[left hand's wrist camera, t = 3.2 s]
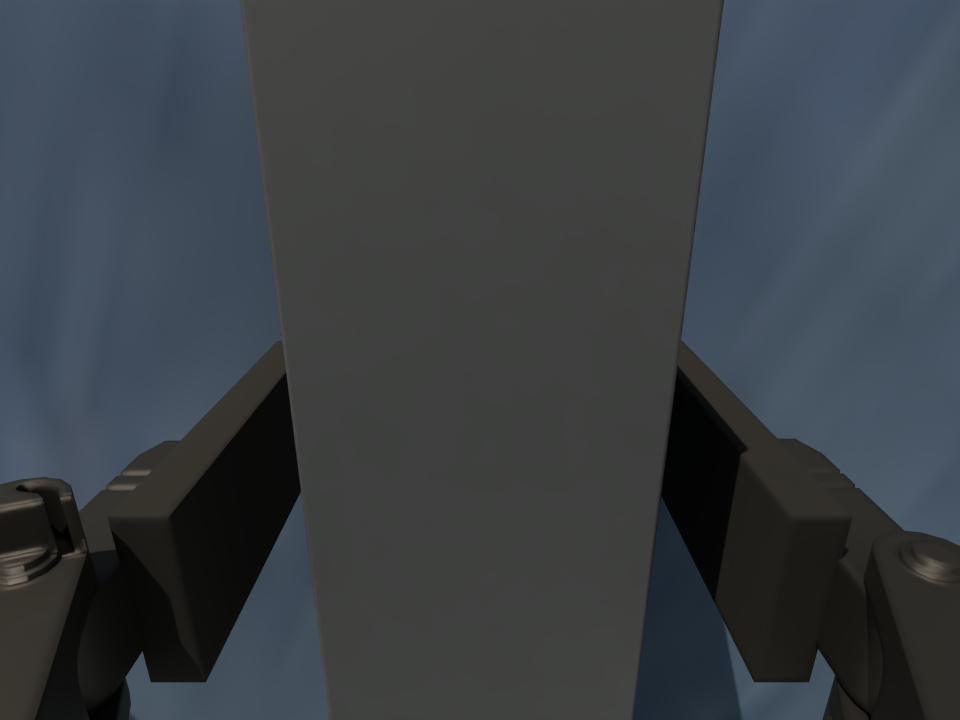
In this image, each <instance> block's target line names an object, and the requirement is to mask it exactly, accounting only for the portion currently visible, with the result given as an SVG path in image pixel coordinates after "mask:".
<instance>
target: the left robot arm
mask: <svg viewBox="0 0 960 720" xmlns="http://www.w3.org/2000/svg"><path fill="white" fill-rule="evenodd" d="M300 492H301V486H300V478H299V470H298V462H297V454H296V446H295V438H294V430H293V422H292V414H291V406H290V398H289V390H288V382H287V374H286V366H285V358H284V350H283V342H282V341H277V342H276V343H275V344H274V345H273V346H272V347H271V348H270V349H269V350H268V351H267V352H266V353H265V354H264V355H263V356H262V358H261V359H260V360H259V361H258V362H257V363H256V364H255V365H254V366H253V367H252V368H251V369H250V370H249V371H248V372H247V373H246V374H245V375H244V376H243V377H242V378H241V379H240V380H239V381H238V382H237V383H236V384H235V385H234V386H233V387H232V388H231V389H230V390H229V392H228V393H227V394H226V395H225V396H224V397H223V398H222V399H221V400H220V401H219V402H218V403H217V404H216V405H215V406H214V407H213V408H212V409H211V410H210V411H209V412H208V413H207V414H206V415H205V416H204V417H203V418H202V419H201V420H200V421H199V422H198V423H197V424H196V426H195V427H194V428H193V429H192V430H191V431H190V432H189V433H188V434H187V435H186V436H185V437H184V438H183V439H182V440H181V441H164V442H163V443H161V444H159V445H157V446H155V447H153V448H151V449H150V450H148V451H146V452H144V453H142V454H140V455H139V456H138V457H137V458H135V459H134V460H133V461H132V462H131V463H130V464H129V465H128V466H127V467H126V468H125V469H124V470H123V471H122V472H121V475H120V476H116V477H115V478H114V479H113V480H112V481H111V482H110V483H109V484H108V485H107V486H106V489H105V490H102V491H101V492H100V493H98V494H97V495H96V496H95V497H94V498H93V499H92V500H91V501H90V502H89V503H88V504H87V505H86V506H85V507H84V508H83V509H82V510H80V511H79V512H78V509H77V505H76V502H75V498H74V495H73V491H72V488H71V485H69V484H67V483H66V482H64V481H63V480H61V479H53V478H46V477H42V478H32V479H21V480H17V481H13V482H9V483H5V484H1V485H0V720H128V719H129V712H130V706H131V701H130V693H129V688H128V685H127V681H126V678H125V677H126V675H127V674H128V672H129V671H130V669H131V668H132V666H133V665H134V663H135V662H136V660H137V659H138V657H139V655H140V654H141V652H142V651H143V654H144V658H145V661H146V665H147V669H148V673H149V677H150V680H151V682H206V681H207V679H208V677H209V675H210V673H211V671H212V669H213V667H214V665H215V663H216V661H217V659H218V657H219V655H220V653H221V651H222V649H223V647H224V645H225V643H226V641H227V639H228V637H229V635H230V633H231V631H232V629H233V627H234V624H235V622H236V620H237V618H238V616H239V614H240V612H241V610H242V608H243V606H244V604H245V602H246V600H247V598H248V596H249V594H250V592H251V590H252V588H253V586H254V584H255V582H256V580H257V578H258V576H259V574H260V572H261V570H262V568H263V566H264V564H265V562H266V560H267V558H268V556H269V554H270V552H271V550H272V548H273V546H274V544H275V542H276V540H277V538H278V536H279V534H280V532H281V530H282V528H283V526H284V524H285V522H286V520H287V518H288V516H289V514H290V512H291V510H292V508H293V506H294V504H295V502H296V500H297V498H298V496H299V494H300ZM661 496H662V498H663V500H664V502H665V504H666V506H667V508H668V510H669V512H670V514H671V516H672V518H673V520H674V522H675V524H676V526H677V528H678V530H679V532H680V534H681V536H682V538H683V540H684V542H685V544H686V546H687V548H688V550H689V552H690V554H691V556H692V558H693V560H694V562H695V564H696V566H697V568H698V570H699V572H700V574H701V576H702V578H703V580H704V582H705V584H706V586H707V588H708V590H709V592H710V594H711V596H712V598H713V600H714V602H715V604H716V606H717V608H718V610H719V612H720V614H721V616H722V618H723V620H724V622H725V624H726V626H727V628H728V630H729V632H730V635H731V637H732V639H733V641H734V643H735V645H736V647H737V649H738V651H739V653H740V655H741V657H742V659H743V661H744V663H745V665H746V667H747V669H748V671H749V673H750V675H751V677H752V679H753V681H754V682H809V680H810V677H811V673H812V669H813V665H814V662H815V658H816V654H817V650H818V649H819V651H820V652H821V654H822V655H823V657H824V658H825V660H826V661H827V663H828V664H829V666H830V667H831V669H832V671H833V672H834V674H835V678H834V681H833V685H832V688H831V692H830V695H829V699H828V702H827V706H826V709H825V713H824V716H823V720H960V546H959V545H956V544H954V543H952V542H950V541H948V540H945V539H942V538H938V537H935V536H931V535H928V534H924V533H920V532H911V531H904V530H903V529H902V528H901V527H900V526H899V525H898V524H897V523H896V522H894V521H893V520H892V519H891V518H890V517H889V516H888V515H887V514H886V513H885V512H884V511H883V510H882V509H881V508H880V507H878V506H877V505H876V504H875V503H874V502H873V501H872V500H871V499H870V498H869V497H868V496H867V495H866V494H865V493H864V492H862V491H861V490H860V489H859V488H855V484H854V483H853V482H852V481H851V480H850V479H849V478H848V477H847V476H845V475H844V474H840V470H839V469H838V468H837V467H836V466H835V465H834V464H833V463H832V462H831V461H829V460H828V459H827V458H826V457H825V456H824V455H823V454H822V453H820V452H818V451H817V450H815V449H813V448H811V447H809V446H807V445H805V444H804V443H802V442H800V441H798V440H796V439H777V438H776V437H775V436H774V435H773V434H772V433H771V432H770V431H769V430H768V429H767V428H766V427H765V425H764V424H763V423H762V422H761V421H760V420H759V419H758V418H757V417H756V416H755V415H754V414H753V413H752V412H751V411H750V410H749V409H748V408H747V407H746V406H745V405H744V404H743V403H742V402H741V401H740V400H739V399H738V398H737V397H736V396H735V395H734V394H733V393H732V392H731V390H730V389H729V388H728V387H727V386H726V385H725V384H724V383H723V382H722V381H721V380H720V379H719V378H718V377H717V376H716V375H715V374H714V373H713V372H712V371H711V370H710V369H709V368H708V367H707V366H706V365H705V364H704V363H703V362H702V361H701V360H700V359H699V358H698V356H697V355H696V354H695V353H694V352H693V351H692V350H691V349H690V348H689V347H688V346H687V345H686V344H685V343H684V342H683V341H681V342H680V350H679V358H678V366H677V374H676V382H675V390H674V397H673V405H672V413H671V421H670V429H669V437H668V445H667V453H666V461H665V468H664V476H663V484H662V492H661Z"/></svg>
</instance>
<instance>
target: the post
mask: <svg viewBox="0 0 960 720" xmlns="http://www.w3.org/2000/svg"><path fill="white" fill-rule="evenodd" d="M723 3H724V0H240V6H241V14H242V22H243V30H244V38H245V46H246V54H247V62H248V70H249V78H250V86H251V94H252V102H253V110H254V118H255V126H256V134H257V142H258V150H259V158H260V166H261V174H262V182H263V190H264V198H265V206H266V214H267V222H268V230H269V238H270V246H271V254H272V262H273V270H274V278H275V286H276V294H277V302H278V310H279V318H280V326H281V334H282V342H283V350H284V358H285V366H286V374H287V382H288V390H289V398H290V406H291V414H292V422H293V430H294V438H295V446H296V454H297V462H298V470H299V478H300V486H301V494H302V502H303V510H304V518H305V526H306V534H307V542H308V550H309V558H310V566H311V574H312V582H313V590H314V598H315V606H316V614H317V622H318V630H319V638H320V646H321V654H322V662H323V670H324V678H325V686H326V694H327V702H328V710H329V718H330V720H633V713H634V705H635V697H636V689H637V681H638V674H639V666H640V658H641V650H642V642H643V634H644V626H645V618H646V610H647V603H648V595H649V587H650V579H651V571H652V563H653V555H654V547H655V539H656V532H657V524H658V516H659V508H660V500H661V492H662V484H663V476H664V468H665V461H666V453H667V445H668V437H669V429H670V421H671V413H672V405H673V397H674V390H675V382H676V374H677V366H678V358H679V350H680V342H681V334H682V326H683V319H684V311H685V303H686V295H687V287H688V279H689V271H690V263H691V255H692V248H693V240H694V232H695V224H696V216H697V208H698V200H699V192H700V184H701V177H702V169H703V161H704V153H705V145H706V137H707V129H708V121H709V113H710V106H711V98H712V90H713V82H714V74H715V66H716V58H717V50H718V42H719V35H720V27H721V19H722V11H723Z"/></svg>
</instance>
